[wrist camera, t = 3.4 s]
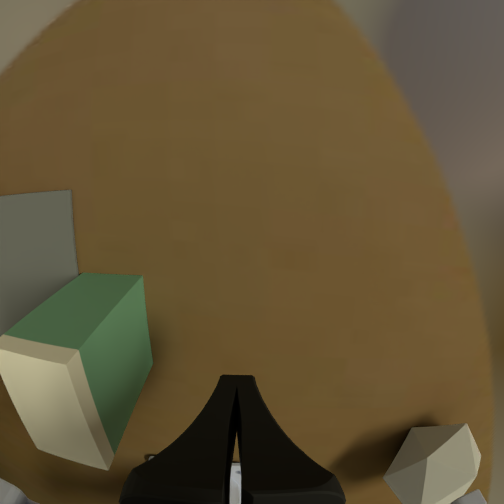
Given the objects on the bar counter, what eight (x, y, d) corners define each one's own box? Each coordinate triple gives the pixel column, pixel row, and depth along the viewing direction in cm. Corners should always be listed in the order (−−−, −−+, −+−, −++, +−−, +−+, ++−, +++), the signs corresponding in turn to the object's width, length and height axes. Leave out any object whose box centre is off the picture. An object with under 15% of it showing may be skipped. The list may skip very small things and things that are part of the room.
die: (355, 459, 23) (396, 533, 17) (402, 438, 17) (454, 532, 11) (417, 419, 26) (455, 486, 20) (468, 386, 20) (513, 466, 13)
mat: (115, 426, 20) (114, 427, 20) (17, 400, 20) (16, 401, 20) (71, 189, 16) (69, 189, 16) (-34, 200, 15) (-36, 200, 15)
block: (153, 363, 19) (108, 470, 10) (98, 356, 19) (37, 448, 10) (142, 275, 17) (66, 364, 9) (83, 272, 17) (-11, 345, 8)
